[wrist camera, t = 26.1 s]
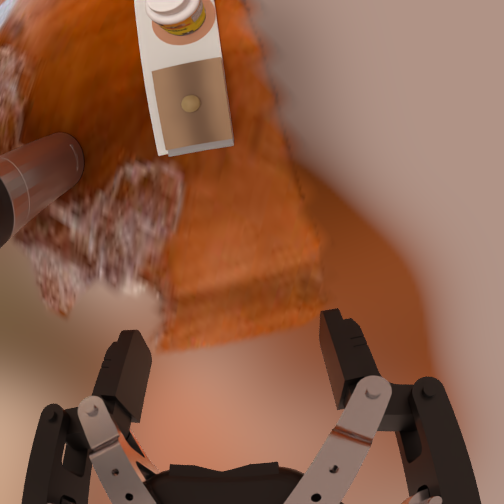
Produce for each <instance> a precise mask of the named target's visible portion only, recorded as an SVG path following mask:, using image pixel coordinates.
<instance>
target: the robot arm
mask: <svg viewBox="0 0 504 504" xmlns="http://www.w3.org/2000/svg"><path fill="white" fill-rule="evenodd" d="M83 168H84V157H83V152H82V149H81V147H80V145H79V143H78V142H77V141H76V140H75V139H74V138H73V137H72V136H71V135H69V134H66V133H61V132H59V133H54V134H51V135H49V136H46V137H43V138H40V139H38V140H35V141H33V142H30V143H28V144H26V145H23V146H21V147H18V148H16V149H14V150H12V151H9V152H7V153H5V154H3V155H1V156H0V248H1V247H2V246H3V245H4V244H5V243H6V242H7V241H8V240H9V239H10V238H11V237H12V236H13V235H14V234H15V233H16V232H18V231H19V230H20V229H21V228H22V227H23V226H24V225H25V224H26V223H28V222H29V221H30V220H31V219H32V218H33V217H35V216H36V215H37V214H38V213H39V212H41V211H42V210H43V209H44V208H45V207H47V206H48V205H49V204H50V203H52V202H53V201H54V200H55V199H57V198H58V197H59V196H61V195H62V194H63V193H65V192H66V191H67V190H69V189H70V188H71V187H73V186H74V185H75V184H76V183H77V182H78V181H79V179H80V178H81V175H82V173H83ZM319 340H320V346H321V350H322V354H323V357H324V361H325V365H326V369H327V372H328V376H329V380H330V384H331V387H332V391H333V395H334V399H335V403H336V407H337V410H340V409H345V410H344V411H343V413H342V415H341V417H340V419H339V421H338V423H337V424H336V426H335V428H334V429H332V431H331V432H330V434H329V436H328V437H327V439H326V441H325V443H324V444H323V446H322V448H321V449H320V451H319V452H318V454H317V456H316V457H315V459H314V460H313V462H312V463H311V465H310V466H309V468H308V470H307V471H306V473H305V474H304V473H302V472H299V471H297V470H294V469H291V468H285V467H279V465H278V462H272V463H261V464H250V465H246V466H243V467H239V468H236V469H232V470H228V471H224V472H221V471H216V470H211V469H207V468H203V467H199V466H195V465H194V466H193V465H173V464H170V470H167V471H163V472H161V473H160V471H159V470H158V469H157V468H156V467H155V465H153V464H152V462H151V461H150V460H149V458H148V457H147V455H146V454H145V452H144V450H143V449H142V447H141V445H140V444H139V442H138V440H137V439H136V437H135V435H134V434H133V432H132V430H131V429H130V425H131V422H135V423H140V418H141V412H142V407H143V402H144V397H145V392H146V387H147V382H148V378H149V373H150V368H151V364H152V357H151V352H150V350H149V348H148V347H147V345H146V343H145V341H144V339H143V337H142V335H141V333H140V332H139V331H138V330H123V331H122V332H121V333H120V335H119V338H118V341H117V342H113V343H112V345H111V346H110V347H109V348H108V350H107V352H106V354H105V357H104V361H103V363H102V366H101V367H102V368H101V369H100V372H99V375H98V378H97V381H96V384H95V387H94V390H93V393H92V396H89V397H87V398H85V399H84V400H83V401H82V402H81V403H80V404H79V407H76V408H71V409H66V410H64V409H63V408H62V407H60V406H59V405H58V404H50V405H48V406H47V407H45V408H44V409H43V411H42V413H41V416H40V419H39V423H38V426H37V430H36V434H35V438H34V442H33V446H32V450H31V454H30V459H29V463H28V468H27V473H26V479H25V485H24V492H23V498H22V504H88V494H89V485H90V476H91V468H92V464H93V467H94V469H95V471H96V473H97V475H98V477H99V479H100V481H101V483H102V485H103V487H104V489H105V491H106V493H107V495H108V497H109V499H110V500H111V502H112V504H343V503H342V502H341V501H342V499H343V497H344V496H345V494H346V492H347V490H348V489H349V487H350V485H351V484H352V482H353V480H354V478H355V476H356V474H357V473H358V471H359V469H360V467H361V465H362V463H363V461H364V459H365V457H366V455H367V453H368V451H369V449H370V447H371V444H372V440H373V438H374V436H375V433H376V431H395V434H396V438H397V442H398V446H399V450H400V454H401V458H402V463H403V467H404V472H405V477H406V481H407V486H408V491H409V497H408V498H407V499H405V500H404V501H403V502H402V503H401V504H481V501H480V496H479V492H478V488H477V484H476V480H475V476H474V473H473V469H472V466H471V462H470V459H469V455H468V452H467V449H466V445H465V442H464V440H463V436H462V433H461V431H460V428H459V425H458V422H457V420H456V417H455V414H454V411H453V409H452V406H451V404H450V401H449V399H448V396H447V394H446V392H445V389H444V386H443V385H442V383H441V382H440V381H439V380H437V379H436V378H433V377H423V378H420V379H418V380H417V381H416V382H415V384H414V385H399V384H393V383H390V382H388V381H387V380H386V379H384V378H383V377H382V376H381V375H380V373H379V371H378V369H377V367H376V364H375V361H374V359H373V356H372V354H371V352H370V349H369V347H368V345H367V342H366V340H365V338H364V335H363V333H362V330H361V328H360V326H359V325H358V324H357V323H356V322H355V321H353V319H351V318H350V319H345V320H343V318H342V316H341V313H340V311H339V309H338V308H337V309H331V310H325V311H321V313H320V331H319ZM65 443H66V450H65V454H64V460H63V465H62V455H63V450H64V444H65Z"/></svg>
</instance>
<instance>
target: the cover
mask: <svg viewBox="0 0 504 504" xmlns="http://www.w3.org/2000/svg"><path fill="white" fill-rule="evenodd" d="M152 77H153V84H154V90H155V96H156V101H157V107H158V113H159V118H160V124H161V129H162V134H163V139H164V144H165V149H166V150H171V149H176V148H181V147H186V146H191V145H197V144H203V143H209V142H215V141H221V140H228V139H233V132H232V125H231V118H230V111H229V104H228V97H227V90H226V83H225V76H224V69H223V62H222V58H221V57H217V58H211V59H205V60H200V61H195V62H189V63H185V64H180V65H175V66H171V67H167V68H163V69H159V70H155V71H152Z"/></svg>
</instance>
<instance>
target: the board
mask: <svg viewBox="0 0 504 504" xmlns="http://www.w3.org/2000/svg"><path fill="white" fill-rule="evenodd" d="M145 1H146V0H134V3H135V14H136V23H137V32H138V40H139V48H140V55H141V62H142V69H143V75H144V82H145V88H146V94H147V100H148V105H149V111H150V116H151V122H152V127H153V132H154V137H155V142H156V147H157V151H158V156H160V155H165V154H168V155H169V157H171V156H176V155H181V154H186V153H192V152H198V151H203V150H209V149H216V148H222V147H229V146H234V136H233V139H228V140H221V141H215V142H209V143H203V144H197V145H191V146H186V147H181V148H176V149H171V150H166V149H165V144H164V139H163V134H162V129H161V124H160V118H159V113H158V107H157V101H156V96H155V90H154V84H153V77H152V71H155V70H159V69H163V68H167V67H171V66H175V65H180V64H185V63H189V62H195V61H200V60H205V59H211V58H217V57H221V58H222V52H221V45H220V38H219V31H218V23H217V16H216V9H215V2H214V0H202V2H203V5H204V7H205V10H206V18H205V21H204V23H203V25H202V26H201V27H200V28H199V29H198V30H197V31H195V32H194V33H192V34H189V35H185V36H176V35H172V34H170V33H168V32H166V31H165V30H164V29H163V28H161V27H160V26H159V25H158V24H156V23H155V22H154V21H152V20H151V19H150V18H149V17H148V15H147V14H146V11H145ZM222 62H223V59H222ZM223 69H224V66H223ZM224 76H225V73H224ZM225 83H226V80H225ZM226 90H227V87H226ZM227 97H228V94H227ZM228 104H229V101H228ZM229 111H230V108H229ZM230 118H231V115H230ZM231 125H232V122H231ZM232 132H233V129H232Z"/></svg>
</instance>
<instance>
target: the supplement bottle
mask: <svg viewBox="0 0 504 504" xmlns="http://www.w3.org/2000/svg"><path fill="white" fill-rule="evenodd" d="M145 11H146V14H147V15H148V17H149V18H150V19H151V20H152V21H154V22H155V23H156V24H158V25H159V26H160V27H161V28H163V29H164V30H165V31H166V32H168V33H170V34H172V35H176V36H185V35H189V34H192V33H194V32H195V31H197V30H198V29H199V28H200V27H201V26H202V25H203V23H204V21H205V18H206V10H205V7H204V5H203V2H202V0H146V1H145Z"/></svg>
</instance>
